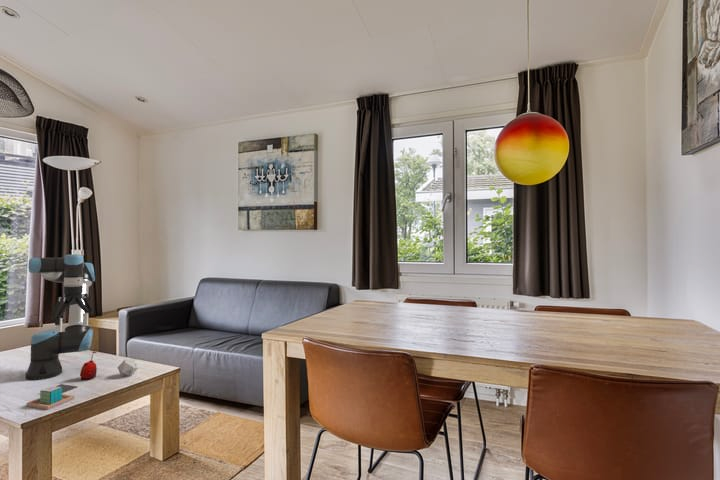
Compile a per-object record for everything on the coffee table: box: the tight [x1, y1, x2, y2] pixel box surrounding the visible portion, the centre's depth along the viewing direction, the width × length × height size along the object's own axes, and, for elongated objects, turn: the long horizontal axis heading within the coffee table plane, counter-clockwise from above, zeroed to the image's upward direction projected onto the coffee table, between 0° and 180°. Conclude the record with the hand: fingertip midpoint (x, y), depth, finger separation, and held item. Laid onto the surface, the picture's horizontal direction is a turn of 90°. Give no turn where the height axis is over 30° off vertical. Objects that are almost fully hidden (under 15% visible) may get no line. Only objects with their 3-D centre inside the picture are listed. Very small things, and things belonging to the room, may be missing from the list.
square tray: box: [26, 394, 75, 411], centre depth 175 cm, size 12×12×1 cm
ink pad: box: [55, 383, 82, 395], centre depth 187 cm, size 12×10×1 cm
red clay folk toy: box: [79, 349, 98, 381], centre depth 205 cm, size 8×7×15 cm
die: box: [117, 358, 139, 377], centre depth 211 cm, size 8×9×10 cm
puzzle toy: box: [39, 385, 62, 404], centre depth 175 cm, size 6×6×6 cm
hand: (72, 328), depth 193 cm, fingers open, 13 cm apart
